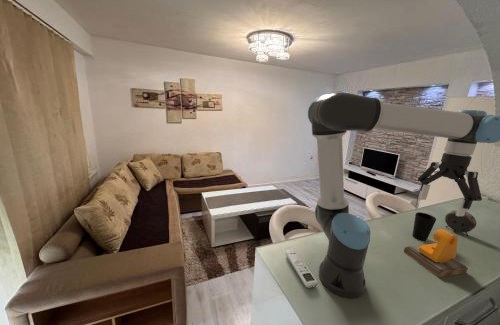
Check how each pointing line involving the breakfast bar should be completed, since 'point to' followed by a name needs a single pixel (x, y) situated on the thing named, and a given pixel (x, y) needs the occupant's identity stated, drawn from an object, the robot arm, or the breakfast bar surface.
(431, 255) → the bracket
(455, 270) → the plinth
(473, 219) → the alarm clock
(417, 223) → the cup
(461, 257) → the breakfast bar surface
